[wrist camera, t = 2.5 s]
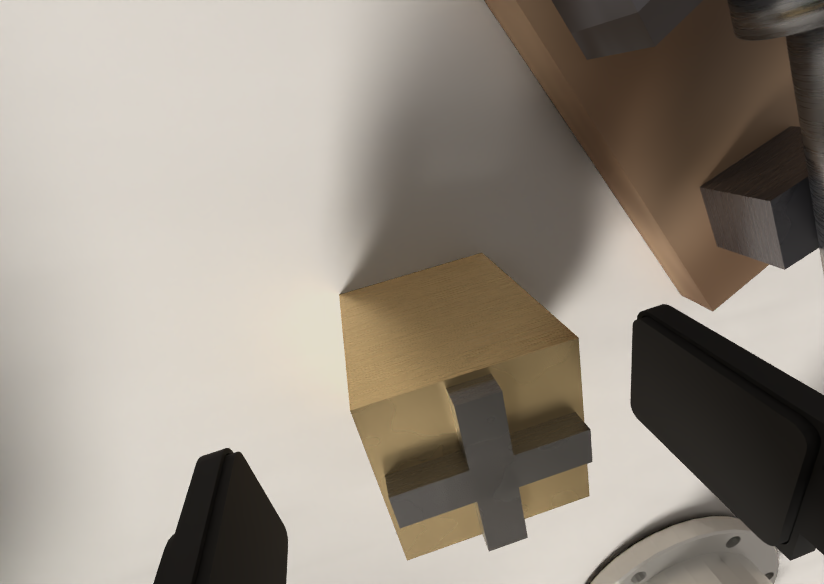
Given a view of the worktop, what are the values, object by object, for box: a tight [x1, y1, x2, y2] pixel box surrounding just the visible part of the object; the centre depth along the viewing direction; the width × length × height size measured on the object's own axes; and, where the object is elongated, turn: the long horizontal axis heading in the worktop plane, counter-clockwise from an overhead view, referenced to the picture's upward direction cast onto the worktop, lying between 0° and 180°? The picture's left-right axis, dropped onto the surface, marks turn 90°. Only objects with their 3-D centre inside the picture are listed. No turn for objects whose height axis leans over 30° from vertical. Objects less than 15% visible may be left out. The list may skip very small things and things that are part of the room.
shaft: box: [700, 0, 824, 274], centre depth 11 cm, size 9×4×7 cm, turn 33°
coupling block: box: [339, 253, 592, 560], centre depth 12 cm, size 5×5×7 cm
